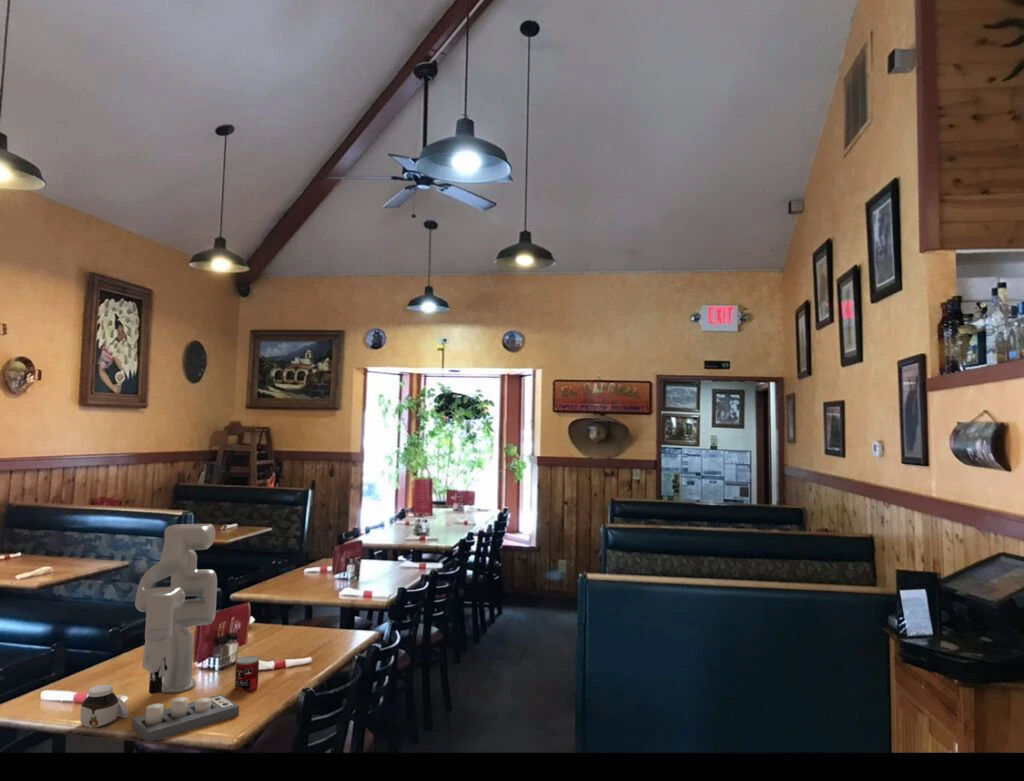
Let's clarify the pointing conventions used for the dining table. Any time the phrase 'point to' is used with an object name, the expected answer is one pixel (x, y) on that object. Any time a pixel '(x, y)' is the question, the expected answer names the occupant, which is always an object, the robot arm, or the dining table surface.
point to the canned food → (247, 674)
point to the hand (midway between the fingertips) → (155, 692)
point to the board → (186, 719)
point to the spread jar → (101, 707)
